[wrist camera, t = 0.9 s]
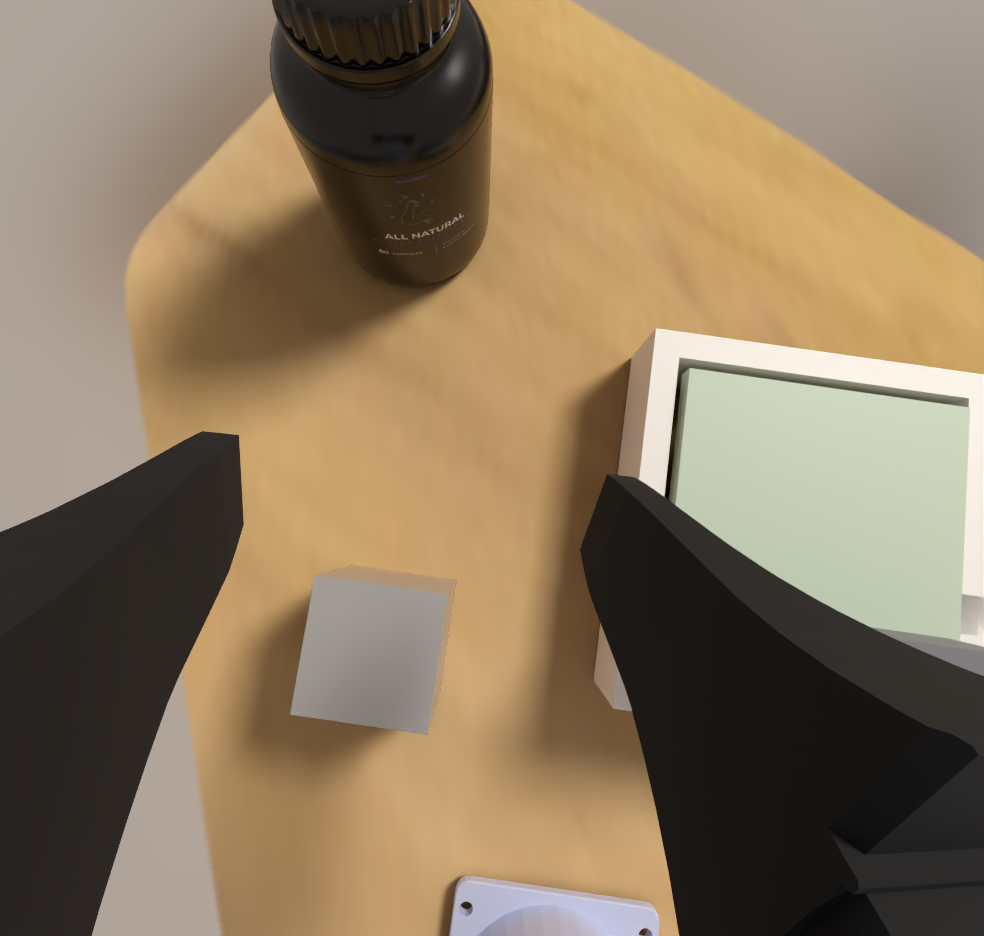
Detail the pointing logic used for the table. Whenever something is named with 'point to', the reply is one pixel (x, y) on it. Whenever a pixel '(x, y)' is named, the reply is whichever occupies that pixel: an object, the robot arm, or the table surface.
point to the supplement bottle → (392, 126)
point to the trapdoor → (835, 497)
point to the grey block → (374, 648)
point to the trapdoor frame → (678, 351)
